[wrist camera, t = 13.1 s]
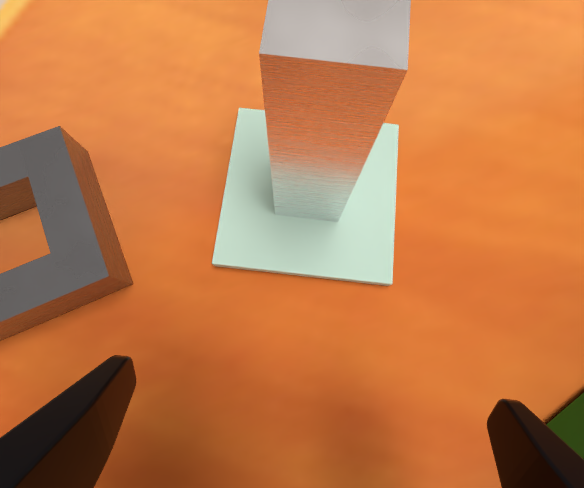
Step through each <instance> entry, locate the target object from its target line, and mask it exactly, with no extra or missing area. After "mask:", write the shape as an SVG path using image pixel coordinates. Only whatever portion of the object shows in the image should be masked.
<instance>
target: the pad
mask: <svg viewBox="0 0 584 488" xmlns="http://www.w3.org/2000/svg"><path fill="white" fill-rule="evenodd" d="M398 128H399V125H396V124H387V123H383V125H382V127H381V129H380V131H379V134H378V136H377V138H376V140H375V142H374V145H373V147H372V149H371V151H370V153H369V156H368V158H367V160H366V162H365V164H364V167H363V169H362V171H361V173H360V175H359V177H358V180H357V182H356V184H355V186H354V188H353V191H352V193H351V195H350V197H349V199H348V202H347V204H346V206H345V208H344V210H343V213H342V215H341V217H340V219H339V221H338V222H333V221H325V220H316V219H308V218H299V217H291V216H283V215H275V207H274V197H273V187H272V177H271V167H270V157H269V147H268V137H267V127H266V117H265V110H256V109H247V108H239V111H238V117H237V123H236V128H235V134H234V140H233V146H232V151H231V157H230V163H229V168H228V174H227V180H226V186H225V191H224V197H223V203H222V208H221V214H220V220H219V226H218V231H217V237H216V243H215V248H214V254H213V260H212V264H213V265H214V266H218V267H227V268H236V269H245V270H253V271H262V272H271V273H280V274H288V275H297V276H306V277H315V278H323V279H332V280H341V281H350V282H358V283H367V284H376V285H385V286H389V285H392V279H393V254H394V229H395V204H396V179H397V154H398Z"/></svg>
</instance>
